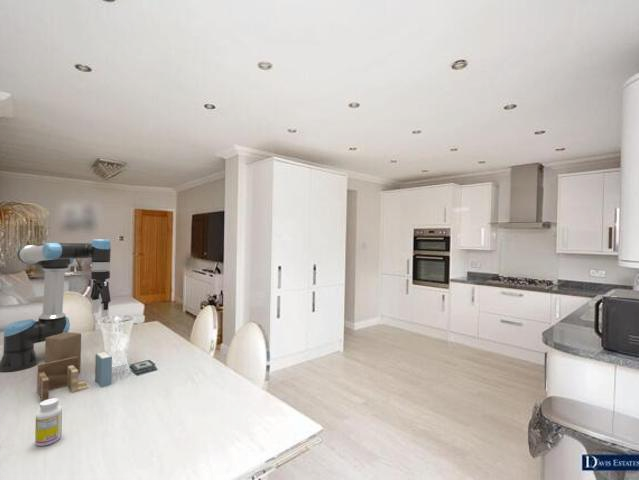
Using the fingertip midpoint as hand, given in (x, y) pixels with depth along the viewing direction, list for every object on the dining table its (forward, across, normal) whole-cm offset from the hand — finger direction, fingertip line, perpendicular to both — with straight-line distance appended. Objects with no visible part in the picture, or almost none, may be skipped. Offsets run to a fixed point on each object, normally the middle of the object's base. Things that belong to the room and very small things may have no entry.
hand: (99, 314), depth 152 cm
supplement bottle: (+31, +43, -26) cm, 59 cm away
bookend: (+31, +3, -9) cm, 32 cm away
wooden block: (+31, -17, -10) cm, 37 cm away
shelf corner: (+31, +3, -15) cm, 34 cm away
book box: (+31, +6, 0) cm, 32 cm away
